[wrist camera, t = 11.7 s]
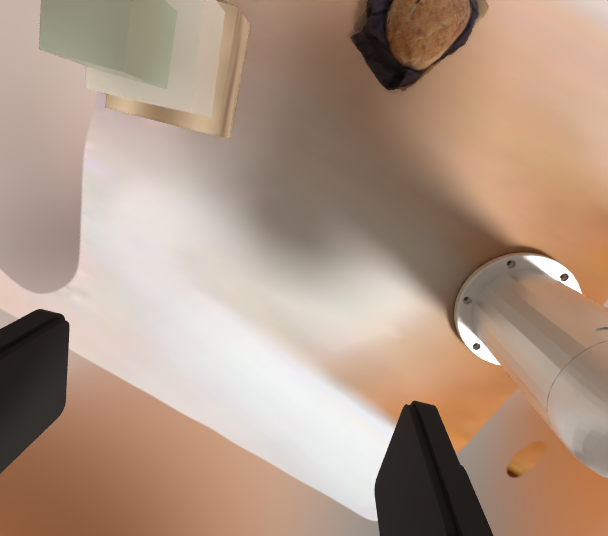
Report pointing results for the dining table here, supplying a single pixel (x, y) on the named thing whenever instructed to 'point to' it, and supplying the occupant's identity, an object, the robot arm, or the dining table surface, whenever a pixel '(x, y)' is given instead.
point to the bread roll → (413, 36)
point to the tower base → (224, 91)
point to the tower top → (178, 63)
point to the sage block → (112, 36)
